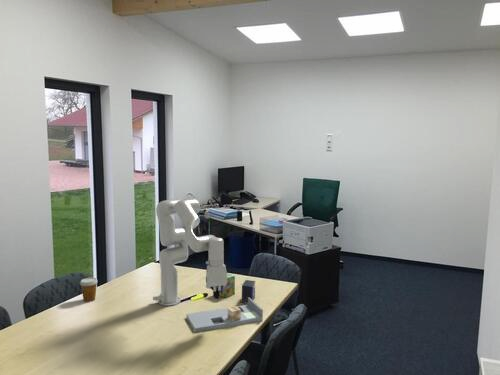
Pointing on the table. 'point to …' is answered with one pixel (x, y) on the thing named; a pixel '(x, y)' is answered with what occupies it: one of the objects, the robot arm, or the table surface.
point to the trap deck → (224, 317)
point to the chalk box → (228, 287)
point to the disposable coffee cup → (89, 289)
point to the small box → (248, 291)
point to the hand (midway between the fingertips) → (216, 298)
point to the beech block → (234, 313)
